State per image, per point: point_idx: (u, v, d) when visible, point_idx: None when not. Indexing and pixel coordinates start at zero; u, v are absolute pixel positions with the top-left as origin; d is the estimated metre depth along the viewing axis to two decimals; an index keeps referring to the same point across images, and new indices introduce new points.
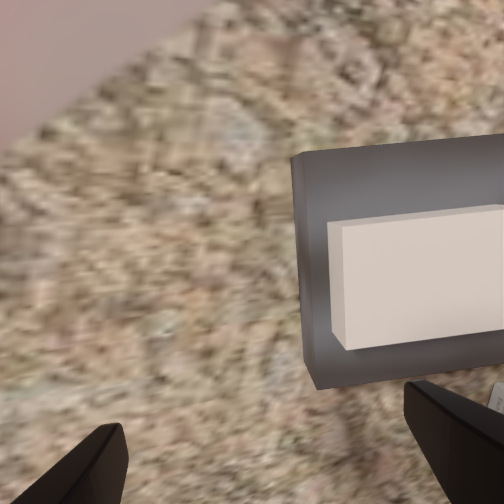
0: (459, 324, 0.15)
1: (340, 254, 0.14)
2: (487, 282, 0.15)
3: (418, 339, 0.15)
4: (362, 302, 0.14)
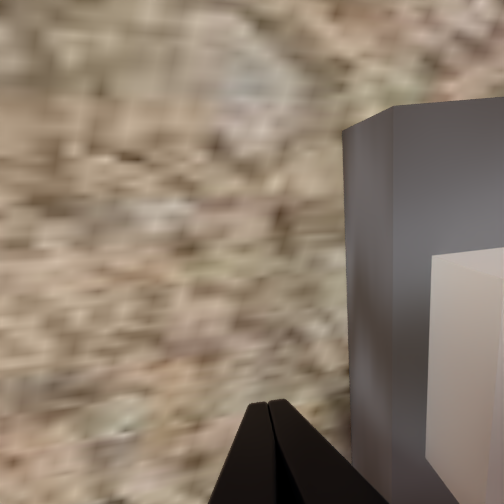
0: None
1: (484, 335, 0.06)
2: None
3: None
4: None
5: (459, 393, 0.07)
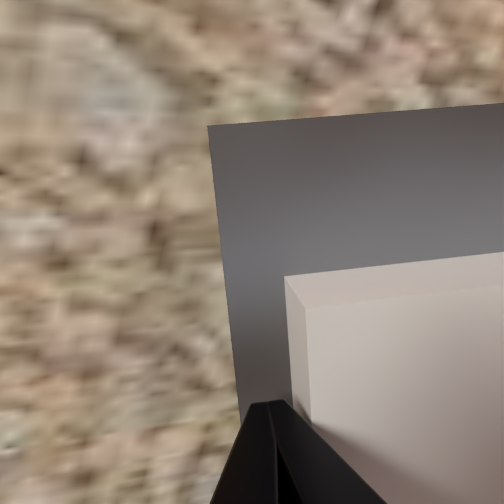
0: None
1: (304, 363, 0.06)
2: None
3: None
4: None
5: None
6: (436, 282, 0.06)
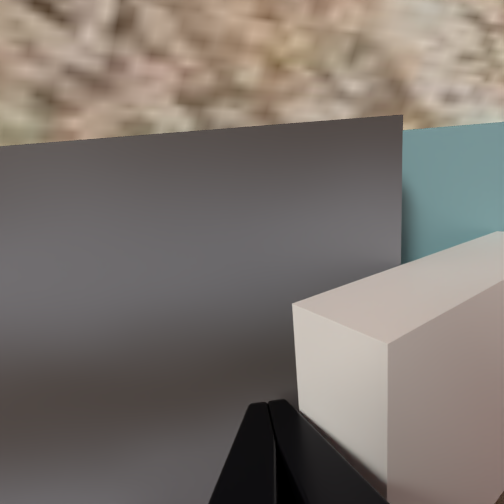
0: None
1: (368, 413, 0.05)
2: None
3: None
4: None
5: None
6: (452, 285, 0.06)
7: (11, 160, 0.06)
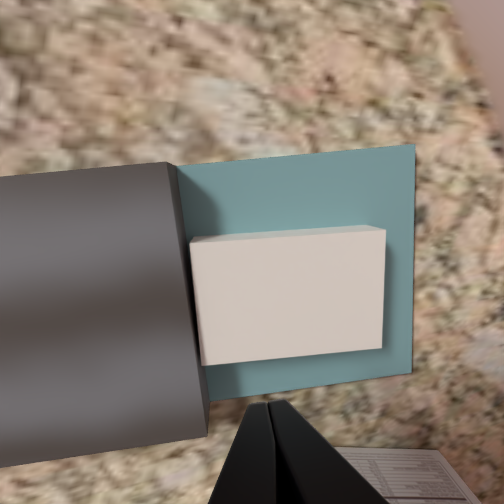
0: (318, 344, 0.15)
1: (192, 269, 0.14)
2: (343, 303, 0.15)
3: (277, 357, 0.15)
4: (215, 318, 0.14)
5: None
6: (251, 237, 0.14)
7: None
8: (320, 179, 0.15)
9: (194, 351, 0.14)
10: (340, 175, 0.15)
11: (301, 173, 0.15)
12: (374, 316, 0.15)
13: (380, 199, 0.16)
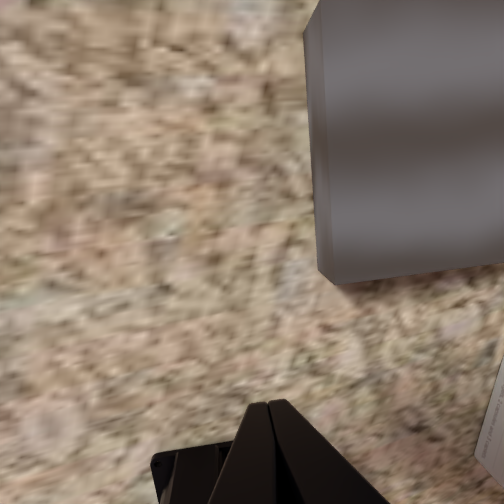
0: None
1: None
2: None
3: None
4: None
5: None
6: None
7: (398, 0, 0.13)
8: None
9: None
10: None
11: None
12: None
13: None
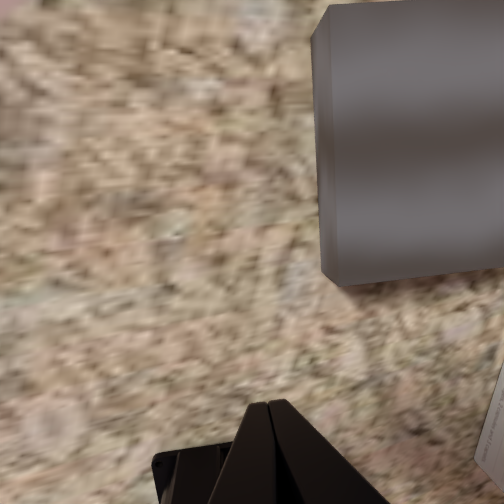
0: None
1: None
2: None
3: None
4: None
5: None
6: None
7: (405, 7, 0.14)
8: None
9: None
10: None
11: None
12: None
13: None
